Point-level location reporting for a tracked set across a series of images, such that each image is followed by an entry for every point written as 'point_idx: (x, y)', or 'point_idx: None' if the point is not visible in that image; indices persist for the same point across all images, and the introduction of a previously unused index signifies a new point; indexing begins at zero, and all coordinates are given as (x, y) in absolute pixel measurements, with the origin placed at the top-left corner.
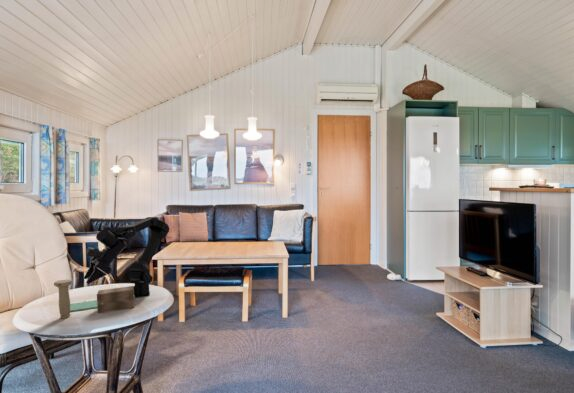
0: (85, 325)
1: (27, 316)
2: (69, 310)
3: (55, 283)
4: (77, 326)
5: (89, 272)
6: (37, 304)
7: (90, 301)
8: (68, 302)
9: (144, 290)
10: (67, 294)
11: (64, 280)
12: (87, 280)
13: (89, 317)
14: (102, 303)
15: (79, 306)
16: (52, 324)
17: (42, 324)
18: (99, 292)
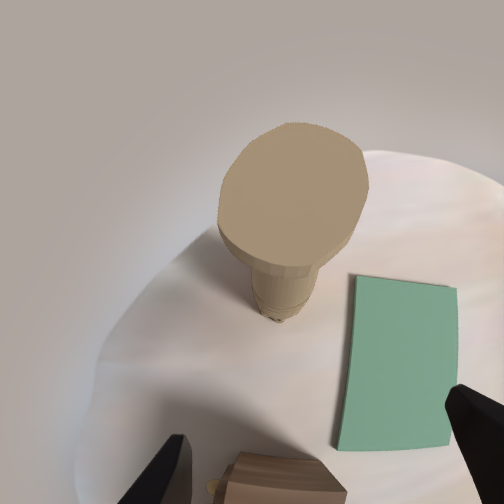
0: (99, 380)
1: (378, 170)
2: (266, 314)
3: (268, 135)
4: (109, 350)
5: (494, 447)
6: (490, 194)
7: None
8: (262, 298)
9: None
10: (262, 274)
11: (335, 191)
12: (172, 450)
13: (196, 410)
14: (207, 488)
15: (400, 356)
16: (209, 257)
17: None
18: (275, 500)
